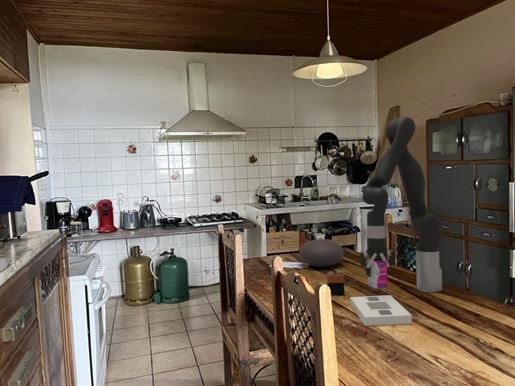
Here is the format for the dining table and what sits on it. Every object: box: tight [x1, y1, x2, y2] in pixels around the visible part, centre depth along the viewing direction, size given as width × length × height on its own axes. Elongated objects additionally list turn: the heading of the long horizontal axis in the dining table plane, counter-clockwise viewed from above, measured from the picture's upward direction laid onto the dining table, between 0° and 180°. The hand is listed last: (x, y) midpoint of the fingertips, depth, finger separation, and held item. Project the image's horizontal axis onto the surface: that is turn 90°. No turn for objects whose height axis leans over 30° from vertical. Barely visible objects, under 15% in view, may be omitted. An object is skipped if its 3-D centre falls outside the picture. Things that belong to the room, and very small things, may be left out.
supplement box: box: [367, 260, 388, 290], centre depth 163 cm, size 6×6×12 cm
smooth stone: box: [298, 238, 345, 268], centre depth 223 cm, size 25×25×15 cm
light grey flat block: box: [349, 294, 413, 327], centre depth 146 cm, size 16×22×3 cm
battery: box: [326, 270, 346, 297], centre depth 171 cm, size 4×7×10 cm, turn 85°
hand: (377, 275), depth 163 cm, fingers closed on supplement box, 6 cm apart
